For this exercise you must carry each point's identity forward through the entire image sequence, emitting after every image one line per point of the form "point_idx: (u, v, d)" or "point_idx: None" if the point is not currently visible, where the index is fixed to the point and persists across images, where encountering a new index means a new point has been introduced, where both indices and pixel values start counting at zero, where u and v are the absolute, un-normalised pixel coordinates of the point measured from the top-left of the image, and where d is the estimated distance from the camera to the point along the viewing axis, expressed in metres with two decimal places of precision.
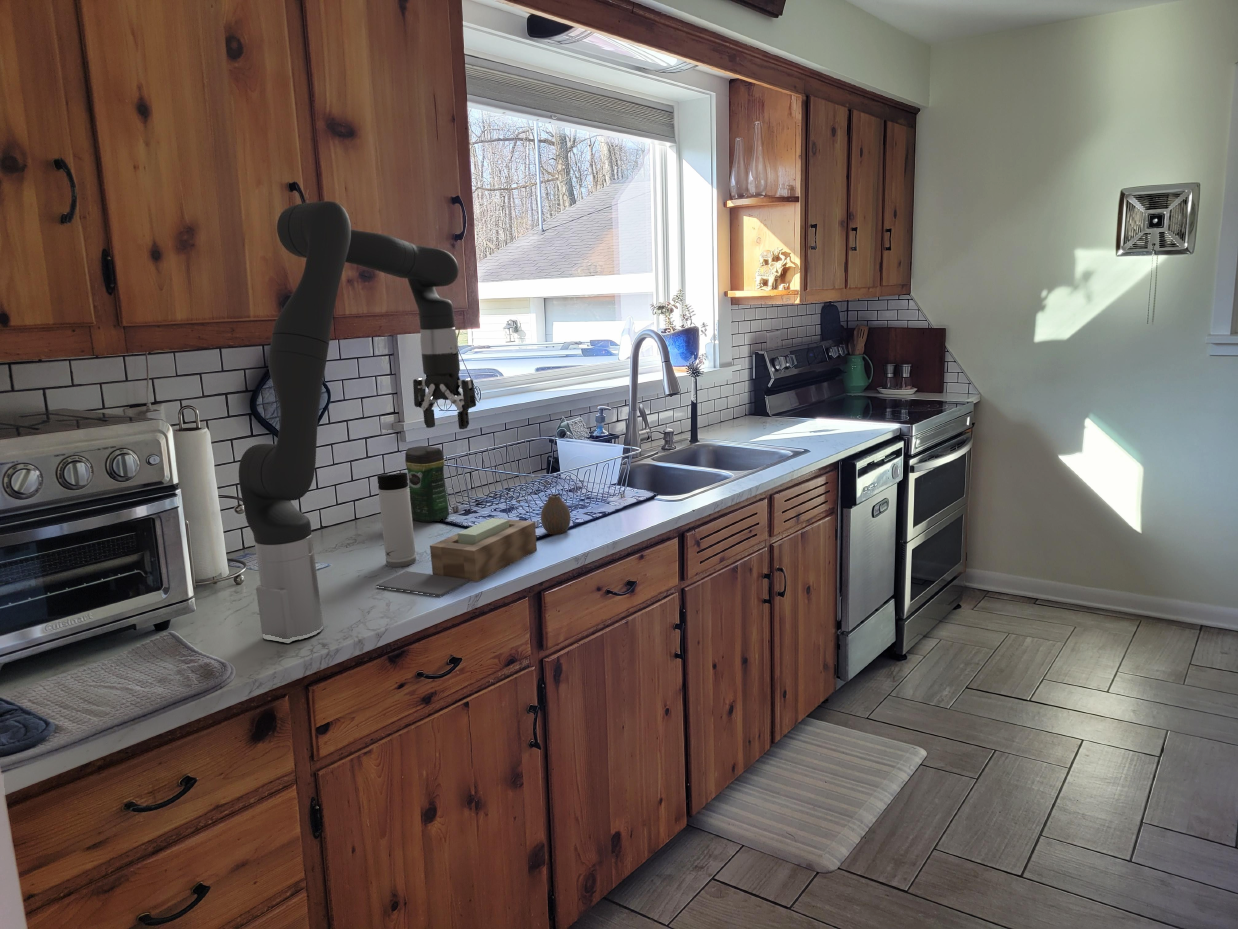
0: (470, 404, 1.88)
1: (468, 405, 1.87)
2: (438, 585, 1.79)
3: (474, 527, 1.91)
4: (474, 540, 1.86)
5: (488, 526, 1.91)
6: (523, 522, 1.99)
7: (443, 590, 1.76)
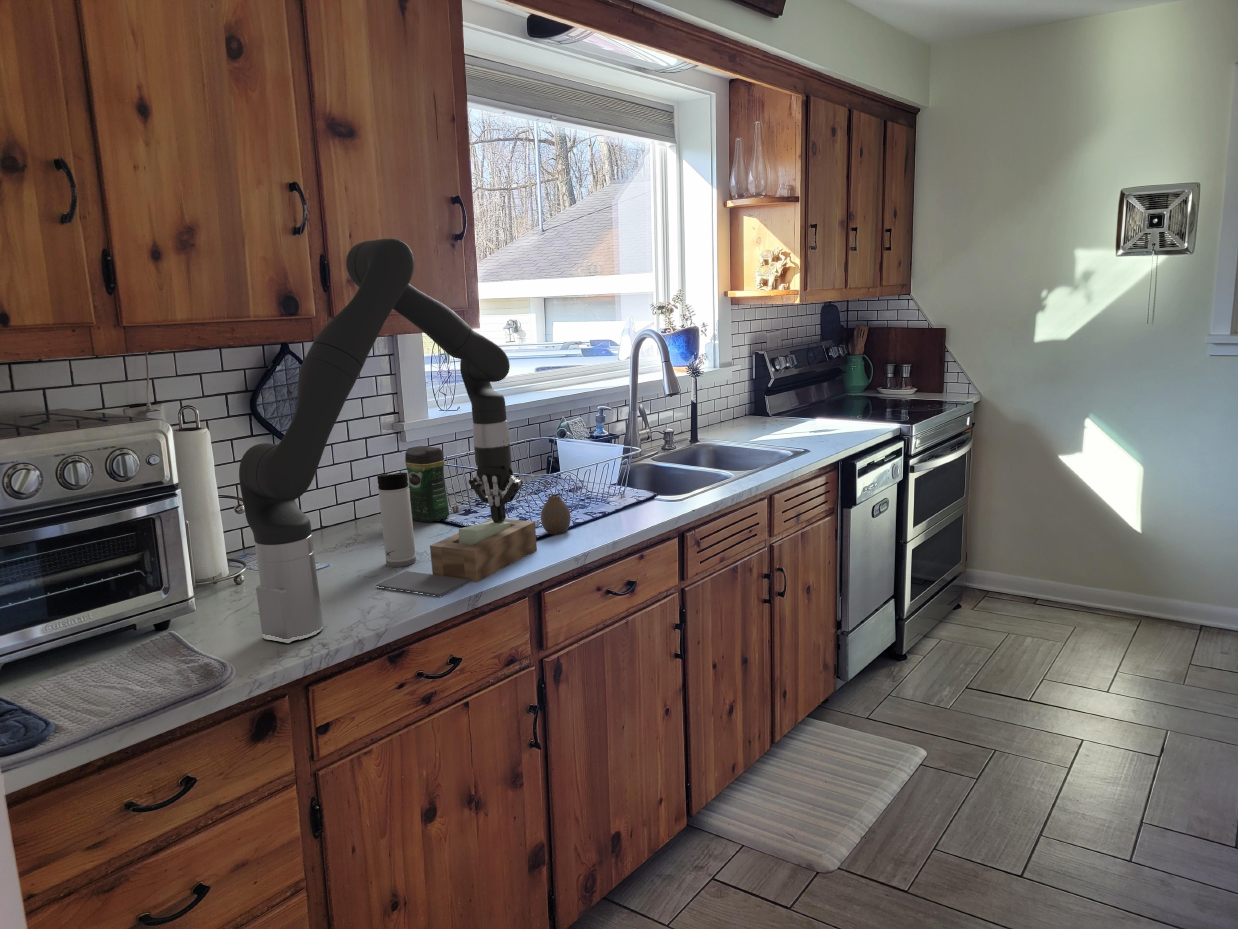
0: None
1: (505, 502, 1.93)
2: (438, 585, 1.79)
3: (475, 525, 1.92)
4: (474, 536, 1.86)
5: (489, 525, 1.92)
6: (523, 522, 1.99)
7: (443, 590, 1.76)
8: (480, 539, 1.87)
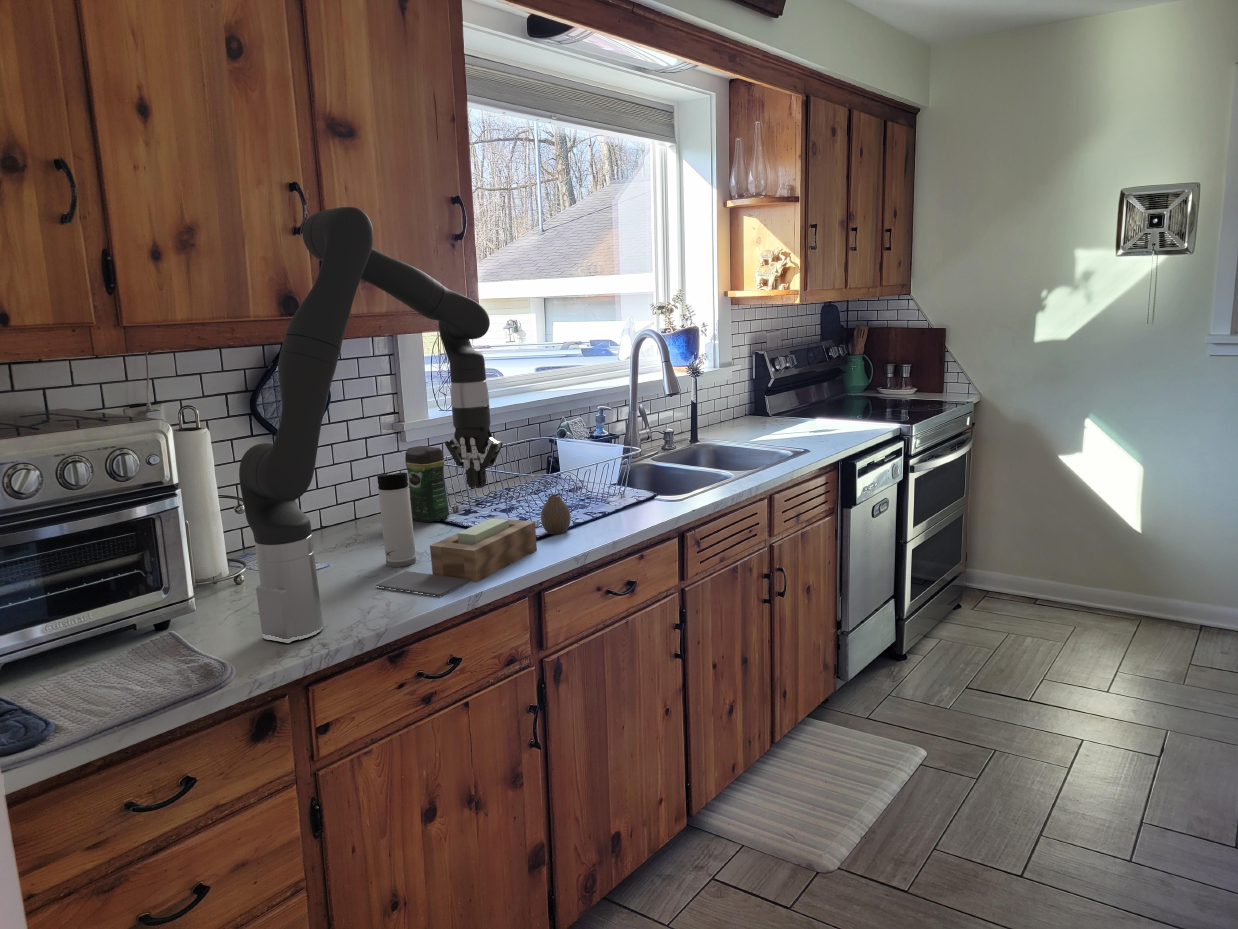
0: None
1: (485, 466, 1.85)
2: (438, 585, 1.79)
3: (474, 527, 1.91)
4: (474, 540, 1.86)
5: (488, 526, 1.91)
6: (523, 522, 1.99)
7: (443, 590, 1.76)
8: None
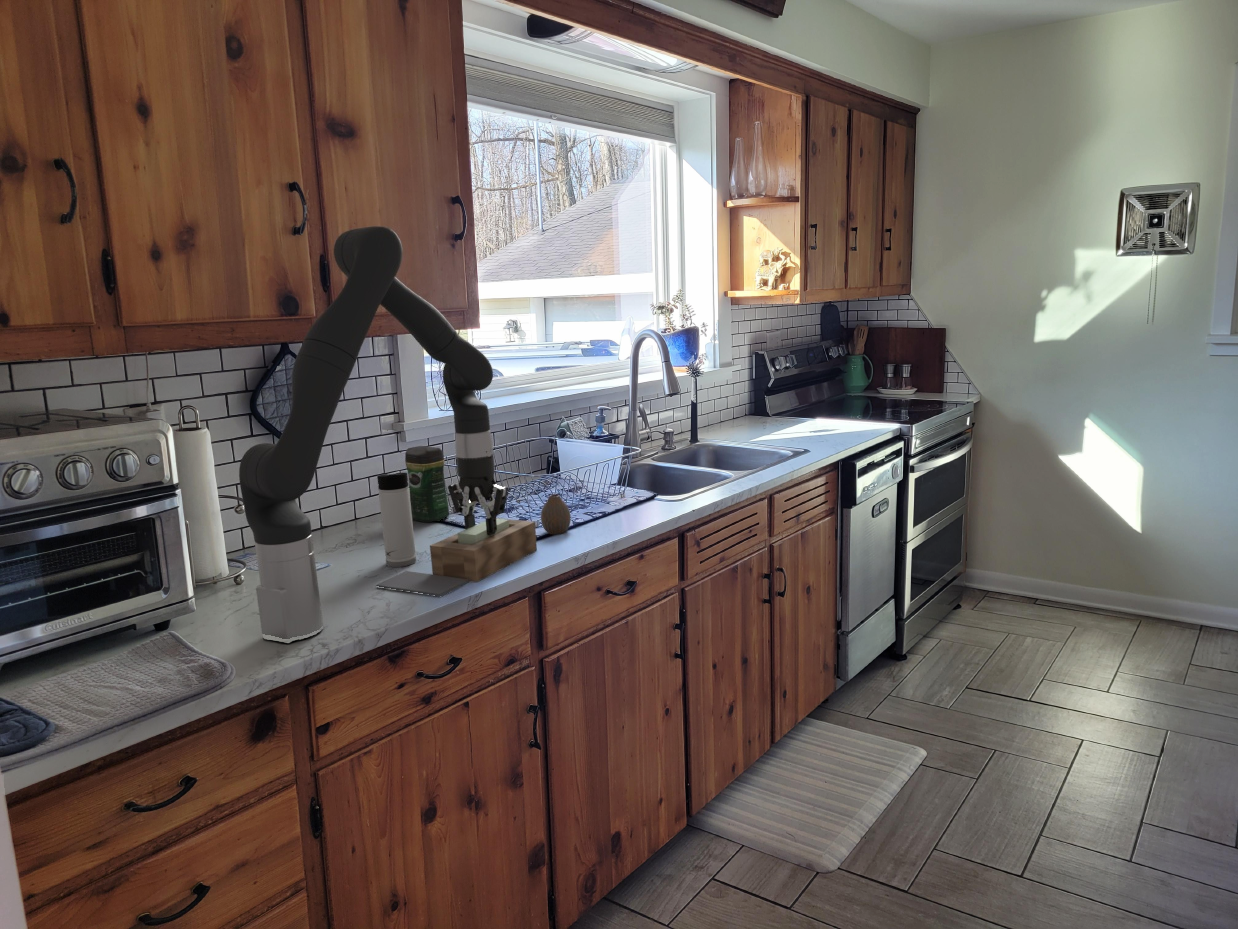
0: (498, 511, 1.87)
1: (496, 513, 1.87)
2: (438, 585, 1.79)
3: (474, 527, 1.91)
4: (474, 540, 1.86)
5: None
6: (523, 522, 1.99)
7: (443, 590, 1.76)
8: None
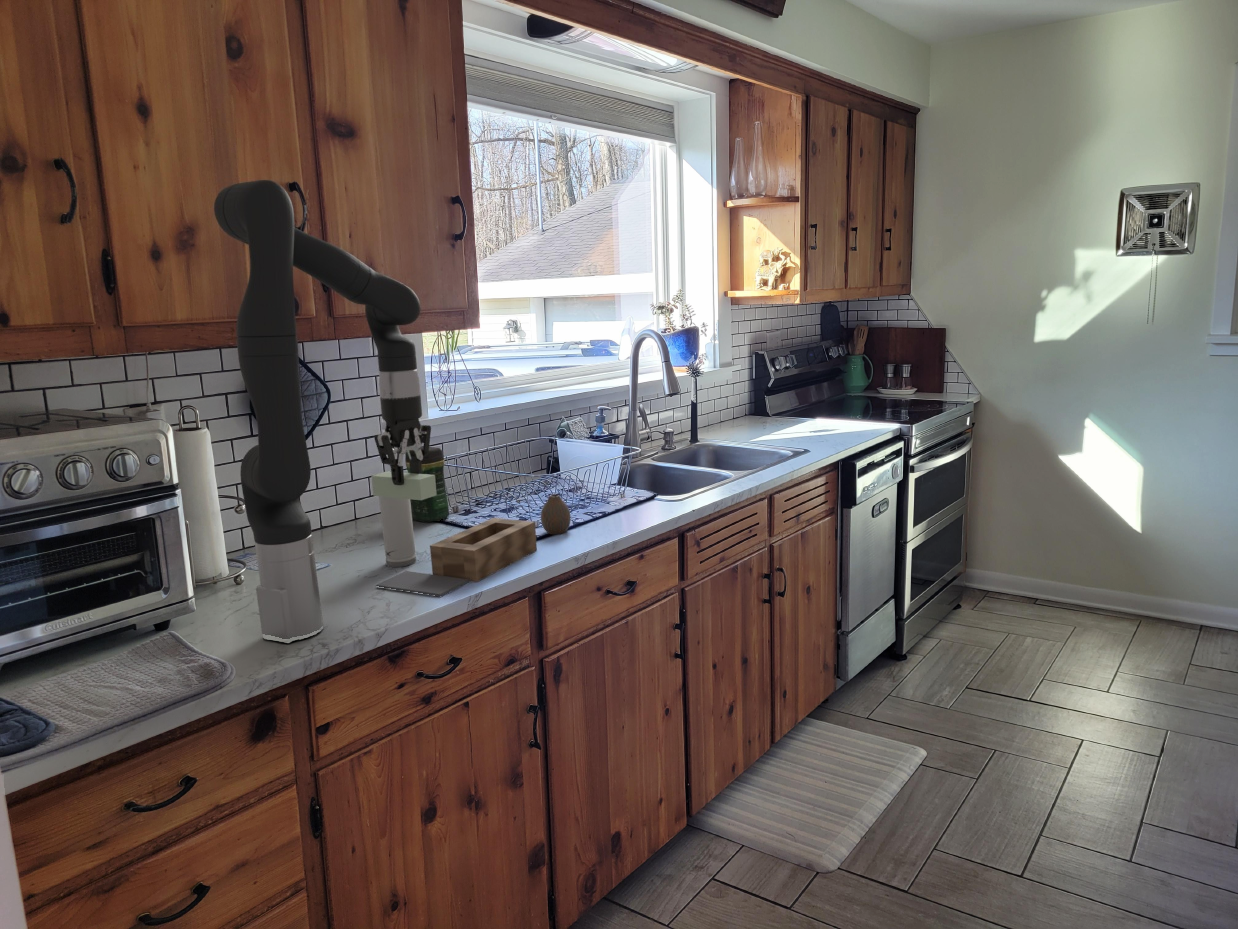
0: None
1: (427, 452, 1.81)
2: (438, 585, 1.79)
3: None
4: (433, 481, 1.77)
5: (405, 474, 1.79)
6: (523, 522, 1.99)
7: (443, 590, 1.76)
8: None
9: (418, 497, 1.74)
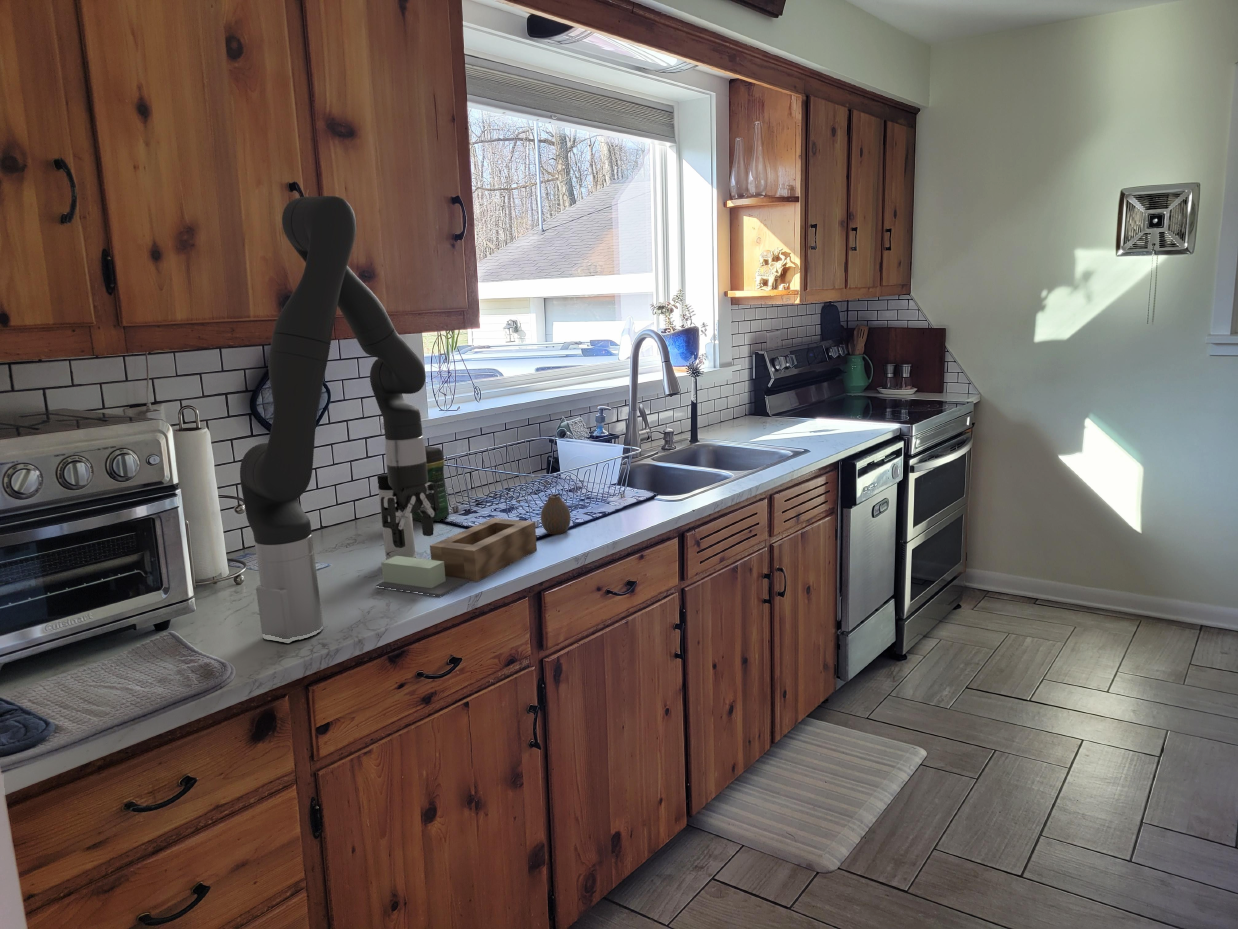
0: None
1: (439, 508, 1.84)
2: (438, 585, 1.79)
3: (413, 564, 1.79)
4: (443, 568, 1.80)
5: (415, 560, 1.82)
6: (523, 522, 1.99)
7: (443, 590, 1.76)
8: None
9: (428, 585, 1.78)
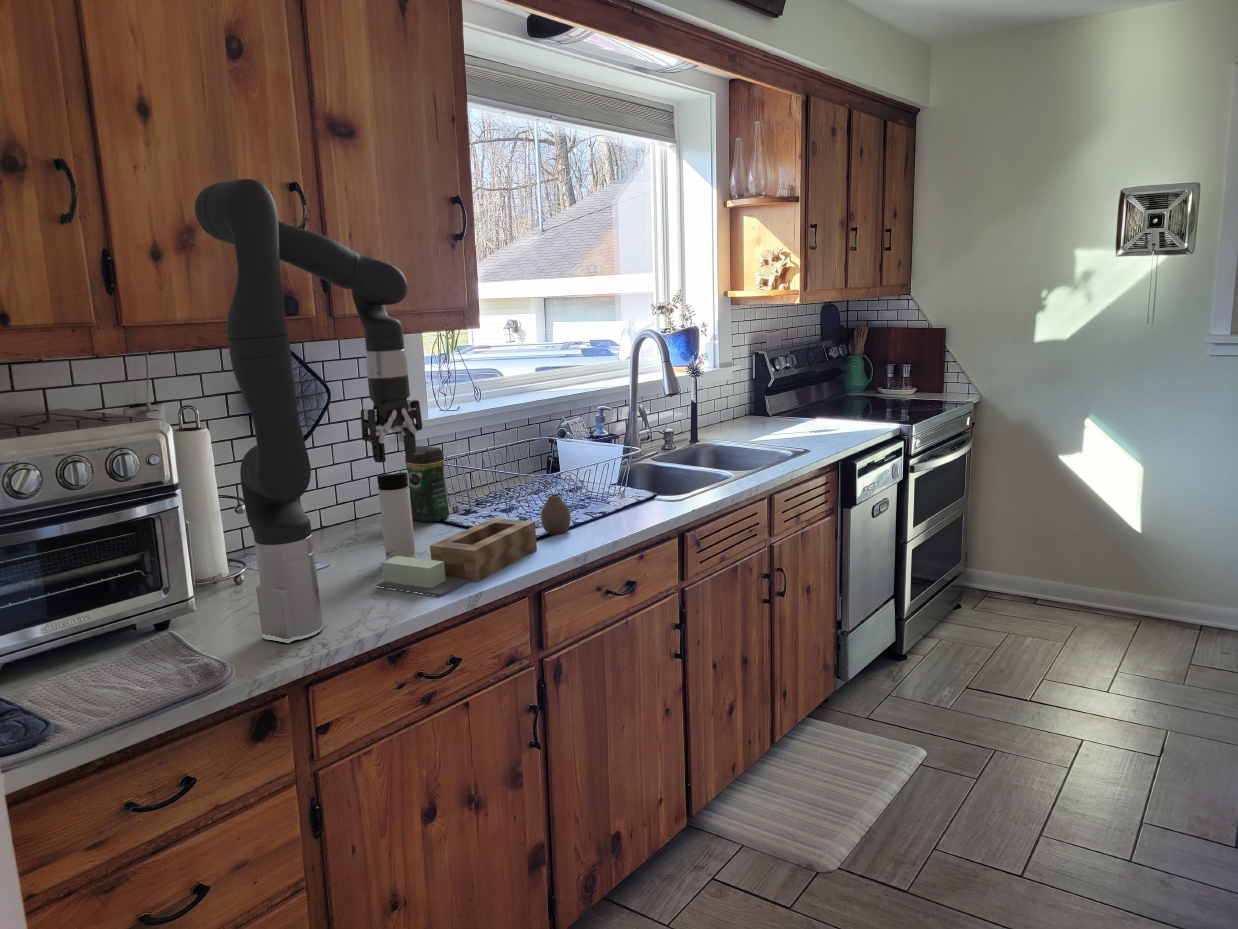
0: None
1: (421, 426, 1.82)
2: (438, 585, 1.79)
3: (413, 564, 1.79)
4: (443, 568, 1.80)
5: (415, 560, 1.82)
6: (523, 522, 1.99)
7: (443, 590, 1.76)
8: None
9: (428, 585, 1.78)
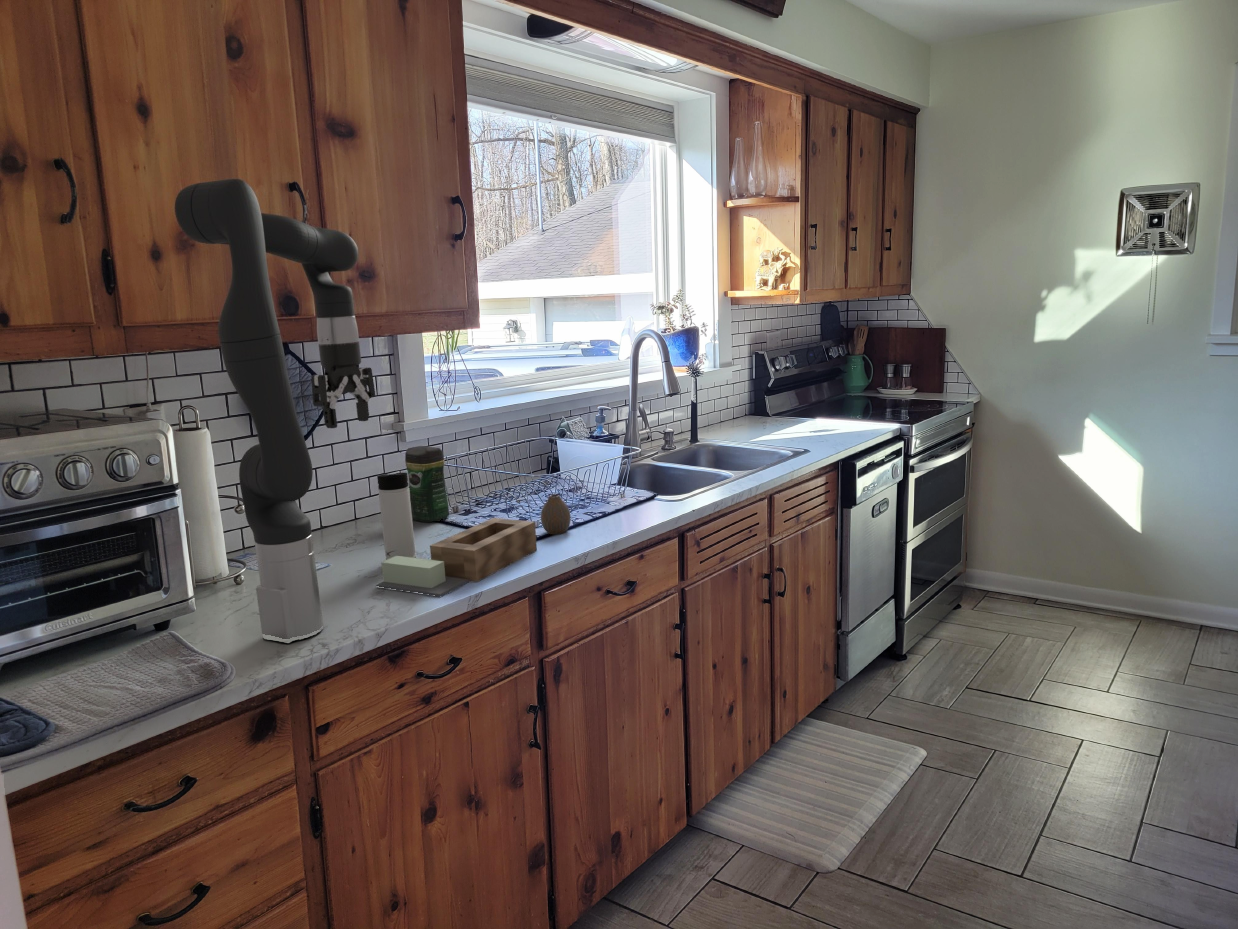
0: None
1: (374, 393, 1.84)
2: (438, 585, 1.79)
3: (413, 564, 1.79)
4: (443, 568, 1.80)
5: (415, 560, 1.82)
6: (523, 522, 1.99)
7: (443, 590, 1.76)
8: None
9: (428, 585, 1.78)
